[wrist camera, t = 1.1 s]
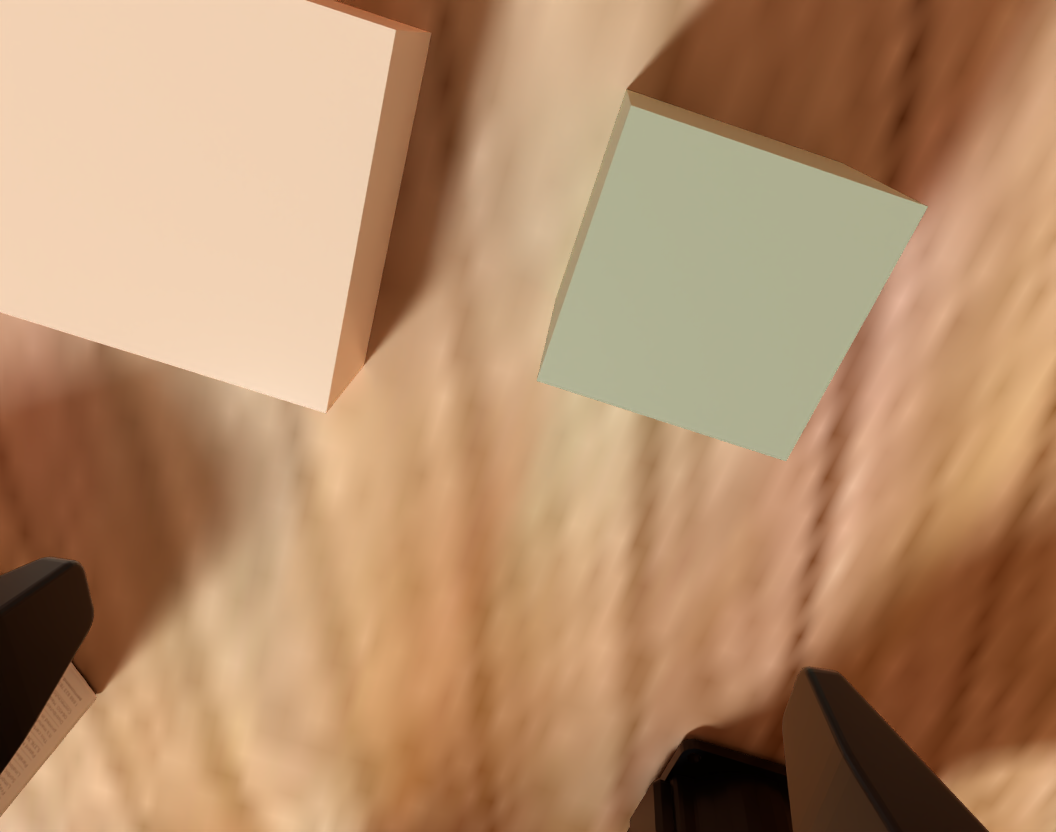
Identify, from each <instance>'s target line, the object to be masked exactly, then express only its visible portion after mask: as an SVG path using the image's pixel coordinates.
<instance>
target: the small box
mask: <svg viewBox="0 0 1056 832" xmlns="http://www.w3.org/2000/svg"><path fill="white" fill-rule="evenodd" d="M95 700H96V695H95V693H94V692H93V691H92V689H91V688H90V687H89V685H88V684H87V682H86V681H85V680H84V678H83V677H82V676H81V674H80V673H79V672H78V671H77V669H76V668H75V667H74V665H73V664H72V663H70V664H69V666H68V668H67V669H66V671H65V673H64V675H63V676H62V678H61V680H60V681H59V683H58V685H57V687H56V688H55V690H54V692H53V694H52V695H51V697H50V699H49V700H48V702H47V704H46V706H45V707H44V709H43V711H42V712H41V714H40V716H39V718H38V719H37V721H36V723H35V724H34V726H33V727H32V729H31V731H30V732H29V734H28V735H27V737H26V739H25V740H24V742H23V743H22V745H21V746H20V748H19V749H18V751H17V752H16V753H15V755H14V756H13V758H12V759H11V761H10V762H9V764H8V765H7V766H6V768H5V769H4V771H3V772H2V773H1V775H0V817H1V816H2V814H3V813H4V812H5V811H6V809H7V808H8V807H9V806H10V804H11V803H12V802H13V801H14V799H15V798H16V797H17V796H18V794H19V793H20V792H21V791H22V789H23V788H24V787H25V786H26V785H27V783H28V782H29V781H30V780H31V778H32V777H33V776H34V775H35V773H36V772H37V771H38V770H39V769H40V767H41V766H42V765H43V764H44V762H45V761H46V760H47V759H48V758H49V756H50V755H51V754H52V753H53V752H54V751H55V749H56V748H57V747H58V745H59V744H60V743H61V742H62V740H63V739H64V738H65V737H66V735H67V734H68V733H69V732H70V730H71V729H72V728H73V727H74V726H75V724H76V723H77V722H78V721H79V719H80V718H81V717H82V716H83V714H84V713H85V712H86V711H87V710H88V708H89V707H90V706H91V705H92V704H93V702H94V701H95Z"/></svg>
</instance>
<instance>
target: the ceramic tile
mask: <svg viewBox="0 0 1056 832" xmlns="http://www.w3.org/2000/svg"><path fill="white" fill-rule="evenodd" d="M430 38H431V32H428V31H425V30H422V29H419V28H416V27H413V26H410V25H407V24H404V23H401V22H398V21H395V20H392V19H389V18H386V17H382V16H379V15H376V14H373V13H370V12H367V11H364V10H361V9H358V8H355V7H352V6H349V5H346V4H343V3H340V2H337V1H334V0H0V312H1V313H4V314H7V315H11V316H14V317H17V318H20V319H23V320H27V321H30V322H33V323H36V324H40V325H43V326H46V327H49V328H52V329H56V330H59V331H62V332H65V333H69V334H72V335H75V336H78V337H81V338H85V339H88V340H91V341H94V342H98V343H101V344H104V345H107V346H110V347H114V348H117V349H120V350H123V351H127V352H130V353H133V354H136V355H139V356H143V357H146V358H149V359H152V360H156V361H159V362H162V363H165V364H169V365H172V366H175V367H178V368H181V369H185V370H188V371H191V372H194V373H198V374H201V375H204V376H207V377H210V378H214V379H217V380H220V381H223V382H227V383H230V384H233V385H236V386H239V387H243V388H246V389H249V390H252V391H256V392H259V393H262V394H265V395H268V396H272V397H275V398H278V399H281V400H285V401H288V402H291V403H294V404H298V405H301V406H304V407H307V408H310V409H314V410H317V411H320V412H323V413H327V412H328V410H329V409H330V408H331V406H332V405H333V404H334V403H335V401H336V400H337V399H338V398H339V396H340V395H341V394H342V393H343V391H344V390H345V389H346V388H347V386H348V385H349V384H350V382H351V381H352V380H353V379H354V377H355V376H356V375H357V374H358V372H359V371H360V370H361V369H362V367H363V366H364V363H365V358H366V353H367V348H368V343H369V338H370V333H371V328H372V323H373V318H374V313H375V308H376V304H377V299H378V294H379V289H380V284H381V279H382V274H383V269H384V264H385V259H386V254H387V250H388V245H389V240H390V235H391V230H392V225H393V220H394V215H395V210H396V205H397V200H398V195H399V191H400V186H401V181H402V176H403V171H404V166H405V161H406V156H407V151H408V146H409V141H410V137H411V132H412V127H413V122H414V117H415V112H416V107H417V102H418V97H419V92H420V87H421V82H422V78H423V73H424V68H425V63H426V58H427V53H428V48H429V43H430Z"/></svg>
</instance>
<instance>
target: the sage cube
mask: <svg viewBox="0 0 1056 832" xmlns="http://www.w3.org/2000/svg"><path fill="white" fill-rule="evenodd" d="M927 208H928V206H926V205H924V204H922V203H920V202H918V201H916V200H914V199H912V198H910V197H908V196H906V195H904V194H902V193H900V192H898V191H896V190H894V189H892V188H890V187H889V186H887V185H885V184H883V183H881V182H879V181H877V180H875V179H873V178H871V177H869V176H867V175H865V174H863V173H861V172H859V171H857V170H855V169H853V168H851V167H849V166H847V165H845V164H843V163H841V162H838V161H835V160H832V159H829V158H826V157H824V156H821V155H818V154H815V153H812V152H809V151H806V150H803V149H800V148H797V147H794V146H791V145H788V144H786V143H783V142H780V141H777V140H774V139H771V138H768V137H765V136H762V135H759V134H756V133H753V132H751V131H748V130H745V129H742V128H739V127H736V126H733V125H730V124H727V123H724V122H721V121H718V120H715V119H713V118H710V117H707V116H704V115H701V114H698V113H695V112H692V111H689V110H686V109H683V108H680V107H678V106H675V105H672V104H669V103H666V102H663V101H660V100H657V99H654V98H651V97H648V96H645V95H642V94H640V93H637V92H634V91H631V90H628V89H626V92H625V95H624V98H623V101H622V104H621V107H620V110H619V113H618V116H617V119H616V121H615V124H614V127H613V130H612V133H611V136H610V139H609V142H608V145H607V148H606V151H605V154H604V157H603V160H602V163H601V166H600V169H599V172H598V175H597V178H596V181H595V184H594V187H593V190H592V193H591V196H590V199H589V202H588V205H587V208H586V211H585V214H584V217H583V220H582V223H581V226H580V229H579V232H578V235H577V238H576V240H575V243H574V246H573V249H572V252H571V255H570V258H569V261H568V264H567V267H566V270H565V273H564V276H563V279H562V282H561V285H560V288H559V291H558V294H557V297H556V300H555V304H554V309H553V313H552V317H551V322H550V326H549V330H548V335H547V339H546V343H545V348H544V352H543V356H542V361H541V365H540V369H539V374H538V378H537V381H539V382H542V383H545V384H548V385H551V386H554V387H557V388H560V389H564V390H567V391H570V392H573V393H576V394H579V395H582V396H585V397H588V398H591V399H594V400H598V401H601V402H604V403H607V404H610V405H613V406H616V407H619V408H622V409H625V410H629V411H632V412H635V413H638V414H641V415H644V416H647V417H650V418H653V419H656V420H660V421H663V422H666V423H669V424H672V425H675V426H678V427H681V428H684V429H687V430H691V431H694V432H697V433H700V434H703V435H706V436H709V437H712V438H715V439H718V440H721V441H725V442H728V443H731V444H734V445H737V446H740V447H743V448H746V449H749V450H752V451H756V452H759V453H762V454H765V455H768V456H771V457H774V458H777V459H780V460H783V461H787V459H788V457H789V455H790V453H791V452H792V450H793V448H794V446H795V444H796V443H797V441H798V439H799V437H800V436H801V434H802V432H803V430H804V428H805V427H806V425H807V423H808V421H809V419H810V418H811V416H812V414H813V412H814V410H815V409H816V407H817V405H818V403H819V401H820V400H821V398H822V396H823V394H824V392H825V391H826V389H827V387H828V385H829V383H830V382H831V380H832V378H833V376H834V375H835V373H836V371H837V369H838V367H839V366H840V364H841V362H842V360H843V358H844V357H845V355H846V353H847V351H848V349H849V348H850V346H851V344H852V342H853V340H854V339H855V337H856V335H857V333H858V331H859V330H860V328H861V326H862V324H863V322H864V321H865V319H866V317H867V315H868V314H869V312H870V310H871V308H872V306H873V305H874V303H875V301H876V299H877V297H878V296H879V294H880V292H881V290H882V288H883V287H884V285H885V283H886V281H887V279H888V278H889V276H890V274H891V272H892V270H893V269H894V267H895V265H896V263H897V262H898V260H899V258H900V256H901V254H902V253H903V251H904V249H905V247H906V245H907V244H908V242H909V240H910V238H911V236H912V235H913V233H914V231H915V229H916V227H917V226H918V224H919V222H920V220H921V218H922V217H923V215H924V213H925V211H926V209H927Z"/></svg>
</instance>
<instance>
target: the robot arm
mask: <svg viewBox="0 0 1056 832" xmlns="http://www.w3.org/2000/svg"><path fill="white" fill-rule="evenodd" d="M93 617H94V608H93V603H92V599H91V595H90V591H89V586H88V582H87V578H86V574H85V570H84V567H83V566H82V565H81V564H80V563H79V562H77V561H75V560H70V559H63V558H56V557H44V558H41V559H38V560H36V561H33V562H31V563H29V564H26V565H24V566H22V567H19V568H17V569H15V570H12V571H10V572H8V573H5V574H3V575H0V775H1V773H2V772H3V771H4V769H5V768H6V766H7V765H8V764H9V762H10V761H11V759H12V758H13V756H14V755H15V753H16V752H17V751H18V749H19V748H20V746H21V745H22V743H23V742H24V740H25V739H26V737H27V735H28V734H29V732H30V731H31V729H32V727H33V726H34V724H35V723H36V721H37V719H38V718H39V716H40V714H41V712H42V711H43V709H44V707H45V706H46V704H47V702H48V700H49V699H50V697H51V695H52V694H53V692H54V690H55V688H56V687H57V685H58V683H59V681H60V680H61V678H62V676H63V675H64V673H65V671H66V669H67V668H68V666H69V664H70V663H71V661H72V659H73V657H74V656H75V654H76V652H77V651H78V649H79V647H80V645H81V644H82V642H83V640H84V639H85V637H86V635H87V633H88V632H89V630H90V628H91V625H92V622H93ZM782 733H783V743H784V752H785V762H786V766H782V765H779V764H776V763H773V762H769V761H766V760H763V759H759V758H756V757H753V756H750V755H746V754H743V753H740V752H736V751H733V750H730V749H727V748H723V747H720V746H717V745H713V744H710V743H707V742H703V741H700V740H696V739H689V740H686V741H683V742H682V743H681V744H680V745H679V747H678V749H677V750H676V752H675V754H674V755H673V757H672V759H671V760H670V762H669V763H668V765H667V767H666V768H665V770H664V772H663V773H662V775H661V777H660V778H658V779H657V780H655V781H654V782H653V783H652V784H651V786H650V787H649V789H648V791H647V792H646V794H645V796H644V797H643V799H642V800H641V802H640V804H639V805H638V807H637V809H636V810H635V812H634V814H633V815H632V817H631V819H630V828H629V829H628V831H627V832H989V831H988V830H987V829H986V828H985V827H984V826H983V825H982V824H981V823H980V821H979V820H978V819H977V818H976V817H975V816H974V815H973V814H972V813H971V812H970V811H969V810H968V809H967V808H966V807H965V805H964V804H963V803H962V802H961V801H960V800H959V799H958V798H957V797H956V796H955V795H954V794H953V793H952V792H951V791H950V789H949V788H948V787H947V786H946V785H945V784H944V783H943V782H942V781H941V780H940V779H939V778H938V777H937V776H936V775H935V773H934V772H933V771H932V770H931V769H930V768H929V767H928V766H927V765H926V764H925V763H924V762H923V761H922V760H921V759H920V757H919V756H918V755H917V754H916V753H915V752H914V751H913V750H912V749H911V748H910V747H909V746H908V745H907V744H906V743H905V741H904V740H903V739H902V738H901V737H900V736H899V735H898V734H897V733H896V732H895V731H894V730H893V729H892V728H891V727H890V725H889V724H888V723H887V722H886V721H885V720H884V719H883V718H882V717H881V716H880V715H879V714H878V713H877V712H876V711H875V709H874V708H873V707H872V706H871V705H870V704H869V703H868V702H867V701H866V700H865V699H864V698H863V697H862V696H861V695H860V693H859V692H858V691H857V690H856V689H855V688H854V687H853V686H852V685H851V684H850V683H849V682H848V681H847V680H846V679H845V677H844V676H842V675H841V674H840V673H839V672H837V671H834V670H828V669H822V668H815V667H804V668H802V669H801V671H800V672H799V674H798V676H797V679H796V681H795V684H794V687H793V690H792V692H791V695H790V698H789V701H788V704H787V706H786V709H785V712H784V716H783V724H782Z"/></svg>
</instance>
